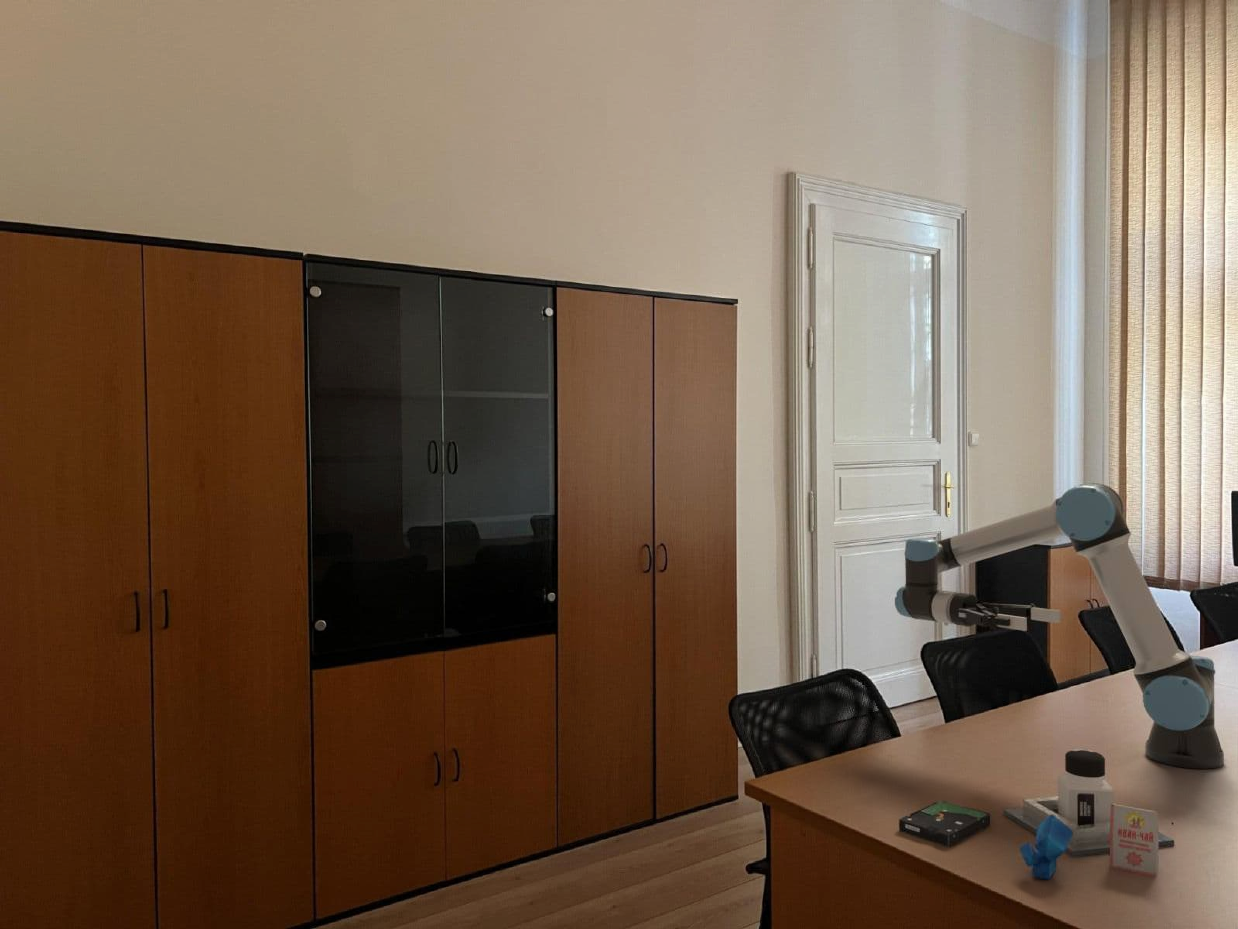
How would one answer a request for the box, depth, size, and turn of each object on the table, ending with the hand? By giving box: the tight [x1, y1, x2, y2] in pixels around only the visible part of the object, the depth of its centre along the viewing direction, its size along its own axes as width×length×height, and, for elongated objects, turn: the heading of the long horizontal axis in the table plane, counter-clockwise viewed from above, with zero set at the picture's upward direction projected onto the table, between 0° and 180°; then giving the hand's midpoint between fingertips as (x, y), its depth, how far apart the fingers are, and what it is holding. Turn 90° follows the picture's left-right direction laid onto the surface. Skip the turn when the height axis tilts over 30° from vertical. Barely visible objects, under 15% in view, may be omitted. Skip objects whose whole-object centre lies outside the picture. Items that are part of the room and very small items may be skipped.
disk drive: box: [898, 800, 992, 848], centre depth 180 cm, size 10×3×15 cm
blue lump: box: [1018, 815, 1073, 881], centre depth 161 cm, size 7×9×12 cm
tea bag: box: [1109, 803, 1160, 878], centre depth 162 cm, size 4×7×10 cm, turn 56°
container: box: [1057, 748, 1115, 826], centre depth 179 cm, size 8×8×13 cm
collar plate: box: [1002, 795, 1175, 858], centre depth 179 cm, size 20×20×4 cm
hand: (1043, 620), depth 213 cm, fingers open, 13 cm apart
